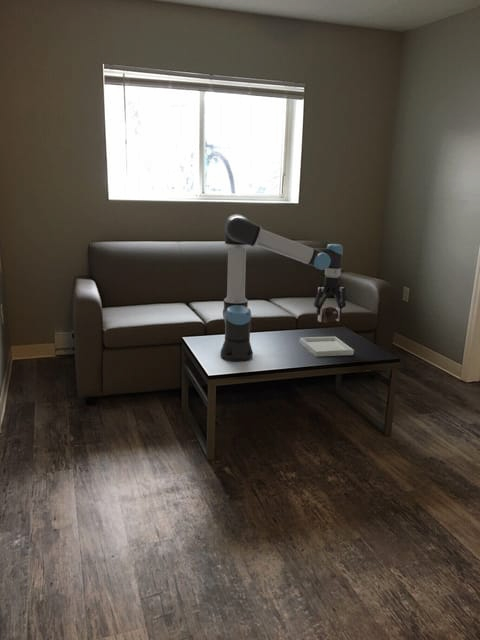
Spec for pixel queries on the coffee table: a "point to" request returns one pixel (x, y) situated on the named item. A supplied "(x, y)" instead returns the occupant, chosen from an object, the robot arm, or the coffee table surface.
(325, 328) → the coffee table surface
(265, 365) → the coffee table surface
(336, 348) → the parts tray
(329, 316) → the pottery mug
